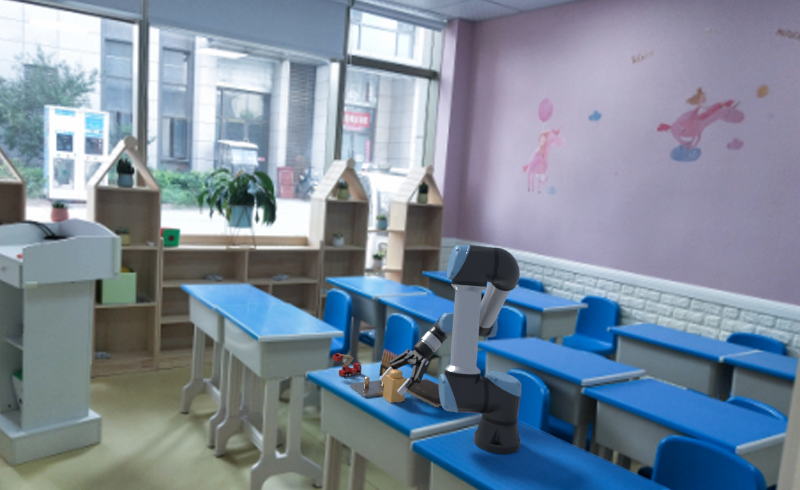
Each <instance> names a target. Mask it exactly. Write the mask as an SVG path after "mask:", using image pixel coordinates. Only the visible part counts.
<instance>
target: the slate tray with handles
mask: <svg viewBox="0 0 800 490" xmlns="http://www.w3.org/2000/svg"><path fill="white" fill-rule="evenodd" d="M349 388H351V389H352V390H353V389H354V391H355V392H356V391H357V392H358V393H357V392H356V393H357V394H358V395H360V394H361V395H362V396H361V395H360V396H361V397H363V396H364V397H366V398H370V397H371V398H372V396H374V397H380V396H381V395H382V396H383V389H384V384H383V383H382V382H381V381H380V379H378V380H370V376H364V380H363V381H359V382H350V383H349ZM382 396H381V397H382ZM364 397H363V398H364Z"/></svg>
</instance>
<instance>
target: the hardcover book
mask: <svg viewBox="0 0 800 490" xmlns="http://www.w3.org/2000/svg"><path fill="white" fill-rule="evenodd" d="M405 393H407V394H409V395H411V396H413V397H414V398H416V399H418V398H419V400H420V399H421V401H422V402H424V403H426V402H427V403H426V404H428V403H429V404H428V405H430V404H431V405H430V406H432V405H433V406H432V407H434V406H435V407H434V408H436V407H437V408H440V407H439V406H442V405H441V402H440V396H439V383H436V382H434V381H433V380H430V379H428V378H425V379H424V378H422V380H421V382H420V383H419V384H418V383H414V384H413V385H412V386H411V387H410V389H408V390H407V391H406V392H405Z"/></svg>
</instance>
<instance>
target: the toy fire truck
mask: <svg viewBox="0 0 800 490" xmlns="http://www.w3.org/2000/svg"><path fill="white" fill-rule="evenodd" d="M331 358H332V360H334V361H335V362H342V361H343V358H344V359H346V360H345V362H344V364H342V367H341V368H342V369H339V370H338V375H339V376H341V377H345V378H347V377H351V376H353V375H354V376H355V375H357V376H359V375H360V374H362V368H363V367H362V365H361V364H360V363H359V362H354V363H352V362H353V360H354V358H355V357H353V356H351V355H348V354H341V353H339V352H338V353H335V354H333V355H332V357H331ZM351 363H352V364H353V367H350V364H351Z"/></svg>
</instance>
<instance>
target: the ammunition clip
mask: <svg viewBox="0 0 800 490" xmlns="http://www.w3.org/2000/svg"><path fill="white" fill-rule="evenodd" d="M397 356H399V354H396V353H394V352H393V351H391V350H388V349H386V348H383V352H382V357H381V363H380V367H379V377H381V376H382V375H383V374H384V373H385V371H386V370H387V369H388V368H389V367H390V365H389V362H390V361H391V360H393V359H394V358H396V357H397ZM395 370H399V368H398V369H395Z"/></svg>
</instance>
